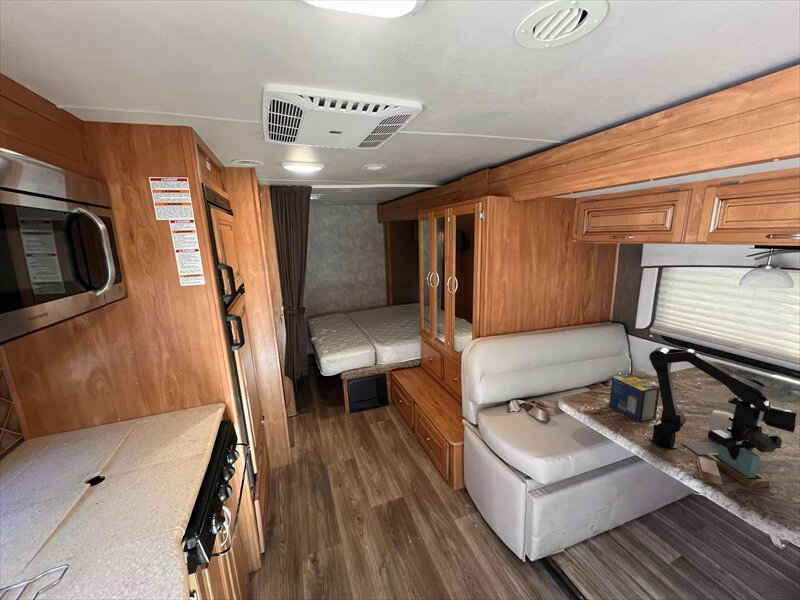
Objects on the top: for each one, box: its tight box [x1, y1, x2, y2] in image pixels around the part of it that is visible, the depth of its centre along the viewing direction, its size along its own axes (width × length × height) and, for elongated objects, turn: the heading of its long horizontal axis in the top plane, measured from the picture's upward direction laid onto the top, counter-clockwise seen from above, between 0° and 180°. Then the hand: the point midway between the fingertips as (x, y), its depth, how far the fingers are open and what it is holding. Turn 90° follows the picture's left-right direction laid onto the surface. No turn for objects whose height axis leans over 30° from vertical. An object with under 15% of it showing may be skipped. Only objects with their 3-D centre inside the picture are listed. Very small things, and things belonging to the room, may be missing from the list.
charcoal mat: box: [681, 441, 720, 457], centre depth 121 cm, size 13×7×1 cm, turn 92°
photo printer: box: [708, 410, 734, 434], centre depth 124 cm, size 10×4×12 cm, turn 29°
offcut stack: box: [696, 456, 722, 486], centre depth 109 cm, size 5×11×3 cm, turn 142°
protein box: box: [608, 374, 660, 422], centre depth 147 cm, size 10×15×16 cm
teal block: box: [718, 444, 761, 479], centre depth 108 cm, size 2×10×8 cm, turn 2°
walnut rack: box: [704, 453, 771, 488], centre depth 109 cm, size 7×14×2 cm, turn 2°
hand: (737, 459), depth 108 cm, fingers closed on teal block, 2 cm apart
